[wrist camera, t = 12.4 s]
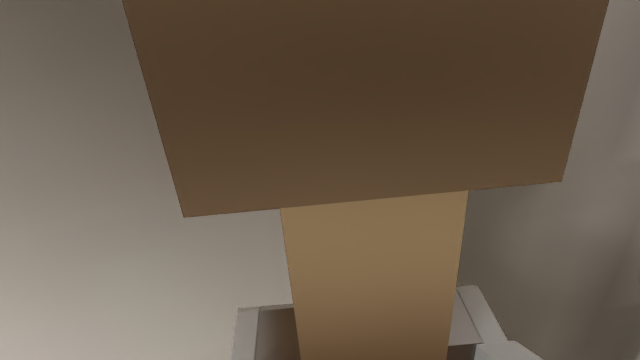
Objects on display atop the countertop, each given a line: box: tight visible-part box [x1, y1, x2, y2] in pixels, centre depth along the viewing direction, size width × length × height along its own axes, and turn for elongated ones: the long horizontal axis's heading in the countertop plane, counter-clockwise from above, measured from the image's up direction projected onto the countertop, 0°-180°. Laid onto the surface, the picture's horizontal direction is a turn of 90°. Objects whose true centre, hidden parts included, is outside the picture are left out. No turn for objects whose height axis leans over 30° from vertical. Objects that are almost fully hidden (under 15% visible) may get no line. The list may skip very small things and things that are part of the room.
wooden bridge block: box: [122, 0, 609, 360], centre depth 14 cm, size 26×9×8 cm, turn 4°
